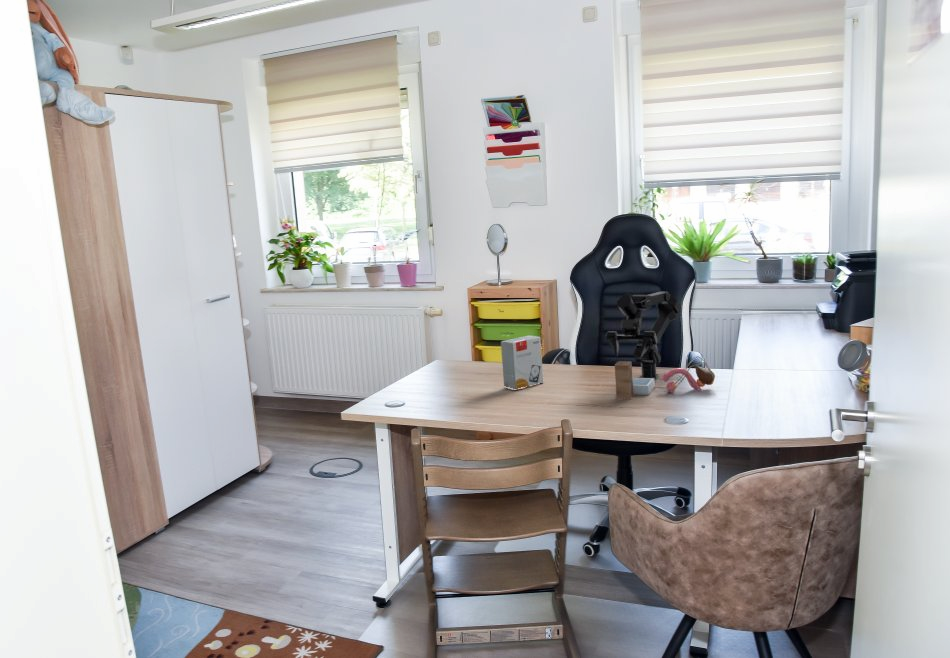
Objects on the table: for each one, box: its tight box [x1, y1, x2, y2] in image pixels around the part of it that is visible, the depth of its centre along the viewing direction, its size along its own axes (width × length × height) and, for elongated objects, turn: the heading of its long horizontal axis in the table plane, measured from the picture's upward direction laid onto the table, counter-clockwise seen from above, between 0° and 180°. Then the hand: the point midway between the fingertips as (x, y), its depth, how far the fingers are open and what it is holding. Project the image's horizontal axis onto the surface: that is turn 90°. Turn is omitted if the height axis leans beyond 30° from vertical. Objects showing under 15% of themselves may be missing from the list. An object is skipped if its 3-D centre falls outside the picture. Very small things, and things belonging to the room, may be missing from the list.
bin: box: [632, 377, 656, 396], centre depth 262 cm, size 11×11×4 cm
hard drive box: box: [500, 335, 544, 389], centre depth 283 cm, size 16×8×20 cm, turn 126°
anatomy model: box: [662, 355, 716, 394], centre depth 255 cm, size 11×15×17 cm
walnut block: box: [614, 360, 634, 400], centre depth 254 cm, size 5×5×13 cm
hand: (628, 356), depth 260 cm, fingers open, 9 cm apart
